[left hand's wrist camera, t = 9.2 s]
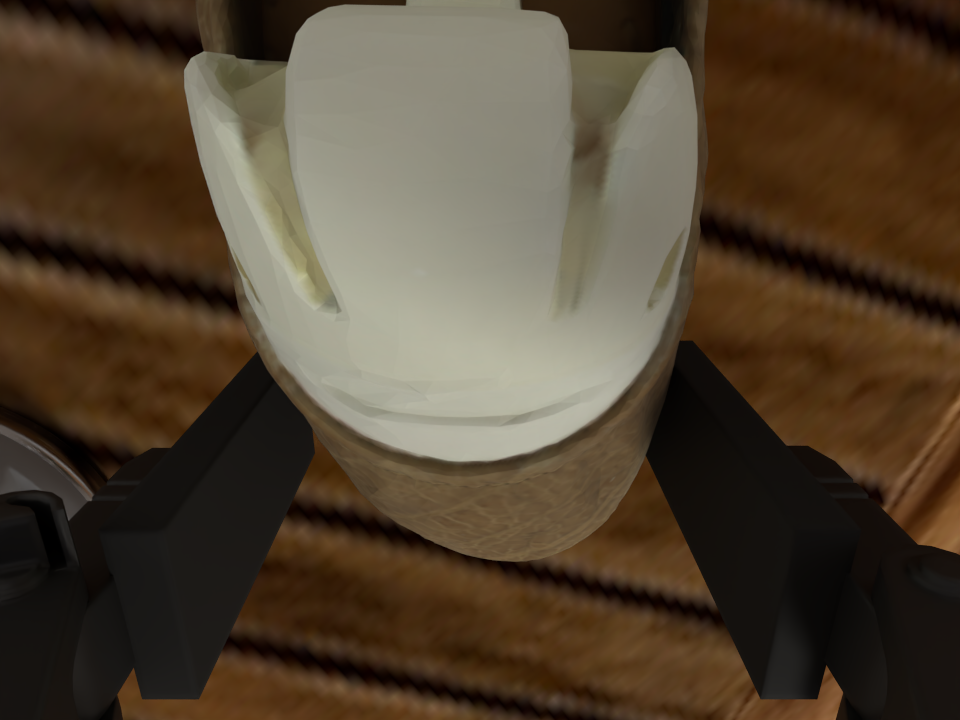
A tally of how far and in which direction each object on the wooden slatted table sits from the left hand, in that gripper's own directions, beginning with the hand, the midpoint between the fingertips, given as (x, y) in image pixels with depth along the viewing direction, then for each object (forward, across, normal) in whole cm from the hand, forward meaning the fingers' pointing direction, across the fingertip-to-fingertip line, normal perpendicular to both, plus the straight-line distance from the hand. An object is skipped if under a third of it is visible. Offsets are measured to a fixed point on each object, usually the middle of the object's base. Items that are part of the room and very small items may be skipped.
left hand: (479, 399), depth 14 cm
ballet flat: (+1, 0, -9) cm, 9 cm away
